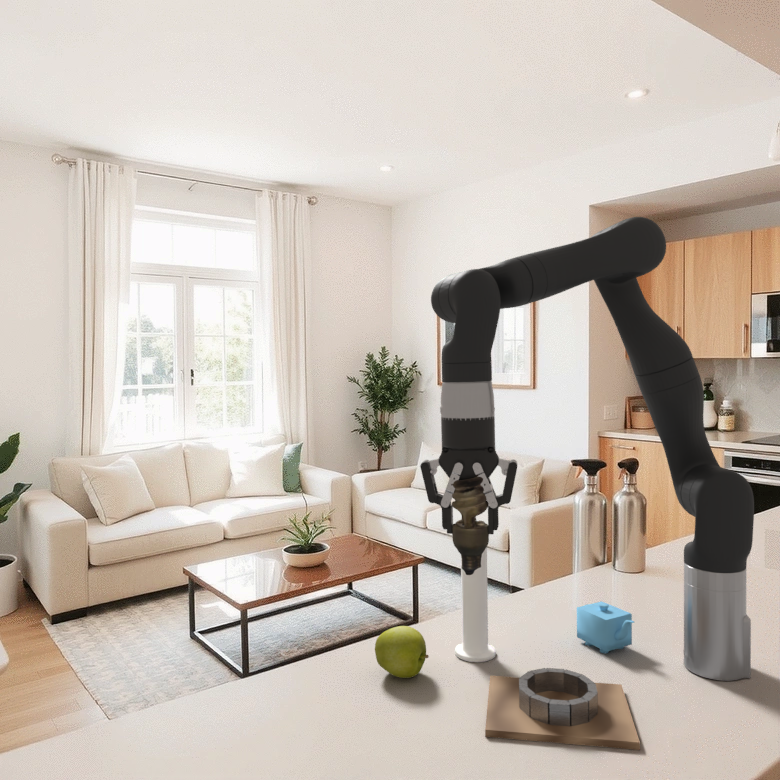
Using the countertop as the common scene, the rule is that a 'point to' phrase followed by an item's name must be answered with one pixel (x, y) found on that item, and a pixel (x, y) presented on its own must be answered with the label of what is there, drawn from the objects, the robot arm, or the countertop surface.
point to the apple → (401, 651)
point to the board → (602, 730)
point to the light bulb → (470, 522)
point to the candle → (475, 616)
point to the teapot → (604, 626)
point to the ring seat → (558, 709)
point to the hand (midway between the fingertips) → (470, 532)
